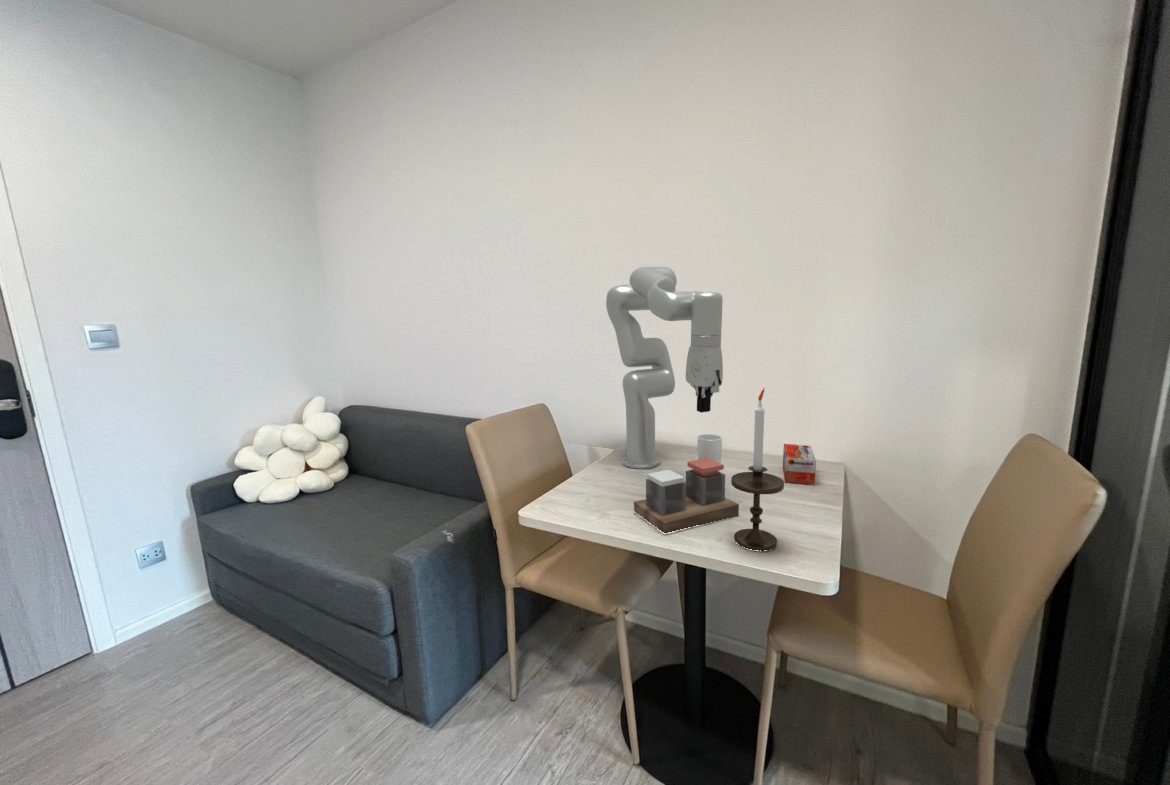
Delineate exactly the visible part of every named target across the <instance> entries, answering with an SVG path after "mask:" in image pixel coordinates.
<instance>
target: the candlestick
mask: <svg viewBox="0 0 1170 785" xmlns="http://www.w3.org/2000/svg"><path fill="white" fill-rule="evenodd" d="M764 393H765V387H763V388H762V390H761V392H760V393H759V396H758V403H757V407H755V408H754V429H753V430H754V431H753V432H754V435H753V465H752V466H748V467H747V469H748V470H749V471H743V472H738V473H735V474H733V475H732V476H731V477H730V478H731V480H730V483H731V486H732V487H733V488H734V489H736V490H739V491H741V492H744V493H749V494H753V504H752V506H751V507H750V508H749V512H750V514H751V515H752V517H750V519H749V521H750V522H751V523H752V528H743V529H740V530H737V531H736V532H735V533H734V534H733V539H734V540H735V541H734V543H735V542H737V543H738V544H739V545H740V546H743V547H745V548H748V549H752V550H759V551H760V550H761V551H764V550H770V549H773V548H775V547H776V546H778V538H777V537H776V536H775V535H774V534H772V533H771V532H768V531H766V530H763V529H760V524H762V522H763V520H762V519H761V515H762V514H764V509H763V508H762V507H761V504H760V503H761V495H774V494H777V493H782V491H783V490H784V489H785V480H783V479H782V478H781V477H779V476H778V475H775V474H770V473H768V468H767V467H765V466H763V461H764V460H763V459H764V455H763V454H764V429H765V408H764V407H763V404H762V400H763V397H764ZM766 472H767V473H766ZM740 546H739V547H740ZM776 548H777V547H776ZM776 548H775V549H776ZM773 550H774V549H773Z"/></svg>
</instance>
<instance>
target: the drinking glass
mask: <svg viewBox="0 0 1170 785" xmlns="http://www.w3.org/2000/svg"><path fill="white" fill-rule="evenodd" d="M722 440H723V439H722V436H720V435H718V434H714V433H713V434H712V433H703V434H700V435H698V436H697V448H696V449H697V460H699V459H704V458H709V459H711V460H714V461H716V462H718V463H721V460H722V452H723V450H722V448H723V441H722ZM718 471H719V472H720V471H721V470H718Z"/></svg>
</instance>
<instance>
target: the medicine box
mask: <svg viewBox="0 0 1170 785" xmlns="http://www.w3.org/2000/svg"><path fill="white" fill-rule="evenodd" d="M782 456H783V457H782V470H783V478H784V484H796V485H797V484H802V485H805V486H808V485H810V486H815V484H816V483H815V480H816V467H817V466H816V465H817V459H816V455H815V453H814V451H813V447H812V446H811V445H809V444H808V445H807V444H791V443H783V452H782Z"/></svg>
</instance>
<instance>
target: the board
mask: <svg viewBox="0 0 1170 785" xmlns="http://www.w3.org/2000/svg"><path fill="white" fill-rule="evenodd" d="M725 496H726V474H724V473H723V472H722V471H721V472H720V471H718V474H717V475H713V476H708V477H702V476H699V475H697V474H695V473H693V469H689V470H685V481H684V482H682V483H678V484H673V485H669V486H664V487H661V486H660V485H658V484H656V483H654V482H653V481H651V480H649V479H648V478H646V479H645V499H641V500H637V501H636V500H635V501H633V512H634V511H635V512H636V513H637V514H639V515H640V516H642V517H643V518H644V519H646V520H647V521H648V522H650V523H651V524H652V525H654V526H655V527H657V528H658V529H659V530H661V531H662V532H664V533H668V532H672V531H676V530H680V529H684V528H688V527H693V526H696V525H702V524H705V525H707V524H706V523H709V524H711V523H710V522H713V523H715V522H714V521H717V522H720V521H719V520H721V521H723V520H722V519H724V520H727V518H728V519H731V518H732V519H733V518H735V517H738V516H740V515H739V514H740V509H739V508H740V504H739V503H737V502H735V501H733V500H731V499H729V498H727V497H725ZM702 526H703V525H702Z"/></svg>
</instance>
